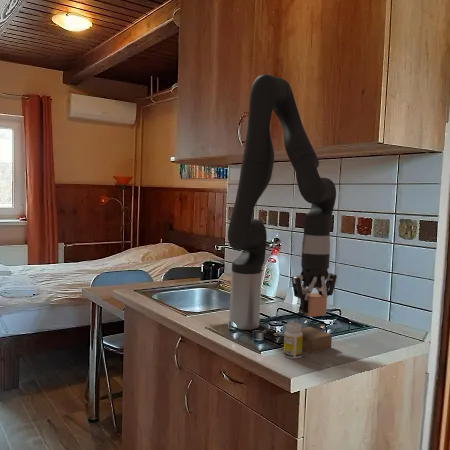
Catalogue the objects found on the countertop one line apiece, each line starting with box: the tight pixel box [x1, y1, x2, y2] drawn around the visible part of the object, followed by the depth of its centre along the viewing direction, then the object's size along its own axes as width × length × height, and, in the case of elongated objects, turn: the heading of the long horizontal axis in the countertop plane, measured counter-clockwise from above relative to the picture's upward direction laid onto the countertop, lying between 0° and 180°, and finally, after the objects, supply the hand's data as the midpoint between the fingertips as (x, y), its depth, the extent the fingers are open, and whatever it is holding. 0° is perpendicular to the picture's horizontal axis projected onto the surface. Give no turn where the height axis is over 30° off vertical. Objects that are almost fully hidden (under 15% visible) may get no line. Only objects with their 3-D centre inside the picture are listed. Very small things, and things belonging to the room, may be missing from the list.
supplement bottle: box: [283, 321, 303, 360], centre depth 122 cm, size 5×5×8 cm
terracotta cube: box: [299, 292, 328, 317], centre depth 128 cm, size 5×5×5 cm
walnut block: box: [301, 326, 333, 354], centre depth 129 cm, size 8×8×4 cm
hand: (312, 311), depth 128 cm, fingers closed on terracotta cube, 5 cm apart
